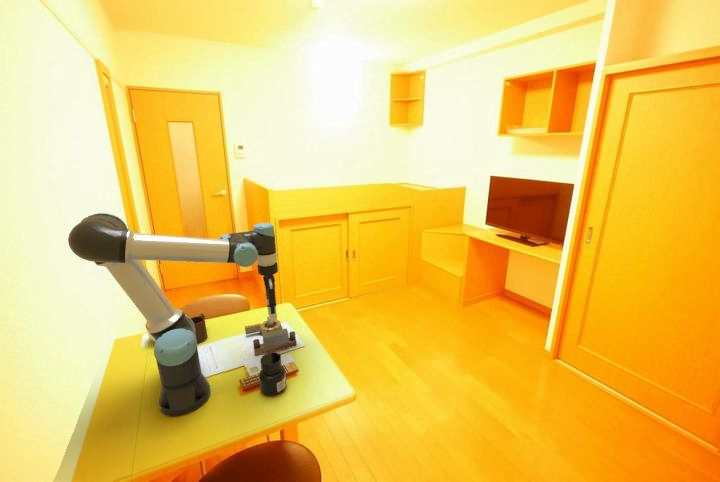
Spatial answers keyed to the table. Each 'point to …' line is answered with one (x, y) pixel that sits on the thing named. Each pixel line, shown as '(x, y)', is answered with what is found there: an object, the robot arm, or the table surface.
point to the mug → (200, 328)
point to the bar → (275, 338)
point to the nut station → (269, 324)
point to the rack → (261, 350)
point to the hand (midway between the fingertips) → (272, 317)
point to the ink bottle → (272, 375)
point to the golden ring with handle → (263, 327)
